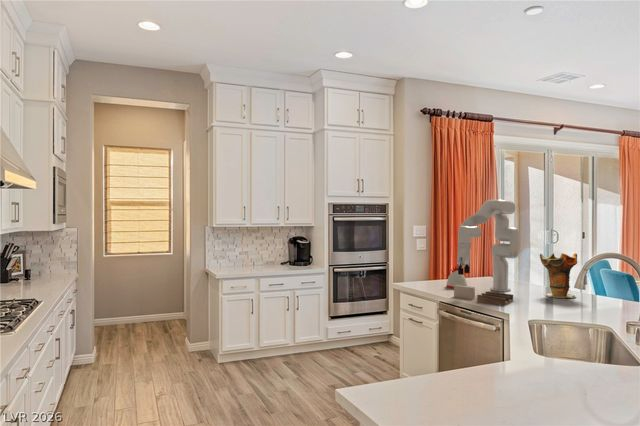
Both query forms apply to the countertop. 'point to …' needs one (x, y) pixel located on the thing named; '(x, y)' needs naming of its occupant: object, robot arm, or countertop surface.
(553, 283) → the decorative vase
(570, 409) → the countertop surface
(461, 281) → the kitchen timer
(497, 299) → the walnut rack
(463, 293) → the beige rectangular block
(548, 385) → the countertop surface
